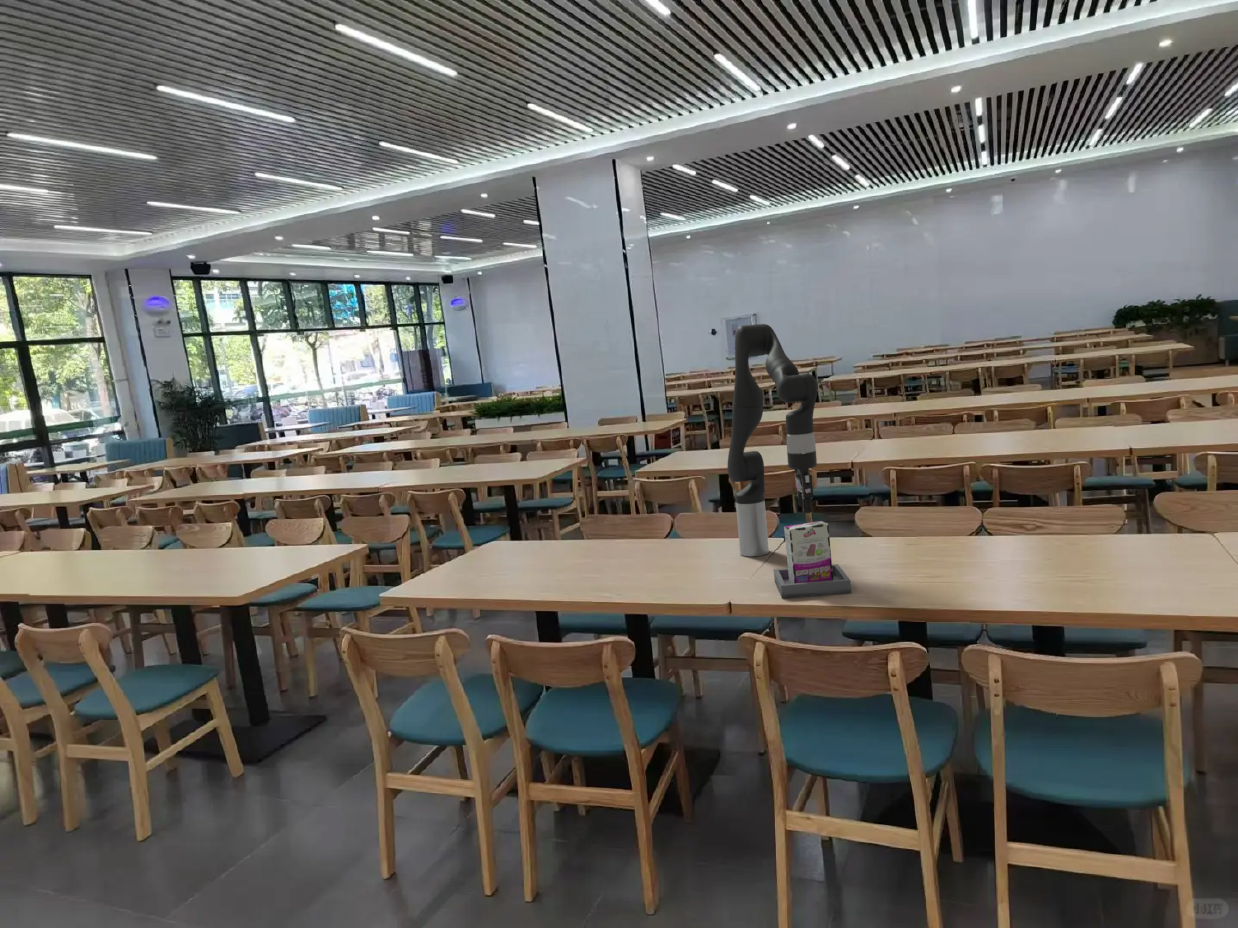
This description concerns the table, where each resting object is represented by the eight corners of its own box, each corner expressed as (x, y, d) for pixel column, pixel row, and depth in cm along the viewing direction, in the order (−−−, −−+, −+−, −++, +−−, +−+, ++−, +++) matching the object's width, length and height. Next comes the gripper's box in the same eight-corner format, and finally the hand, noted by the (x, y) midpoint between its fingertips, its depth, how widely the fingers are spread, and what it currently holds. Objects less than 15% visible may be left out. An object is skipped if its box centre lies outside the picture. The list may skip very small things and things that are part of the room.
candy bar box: (826, 578, 221) (822, 520, 219) (833, 582, 216) (829, 523, 214) (787, 583, 219) (783, 525, 217) (794, 588, 214) (790, 529, 212)
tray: (774, 581, 226) (773, 569, 226) (839, 576, 225) (838, 564, 224) (781, 598, 210) (780, 585, 210) (851, 593, 209) (850, 580, 208)
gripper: (783, 447, 220) (787, 505, 222) (790, 454, 206) (795, 516, 208) (811, 445, 219) (815, 503, 221) (820, 452, 205) (824, 513, 207)
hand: (805, 509), depth 215 cm, fingers open, 8 cm apart
